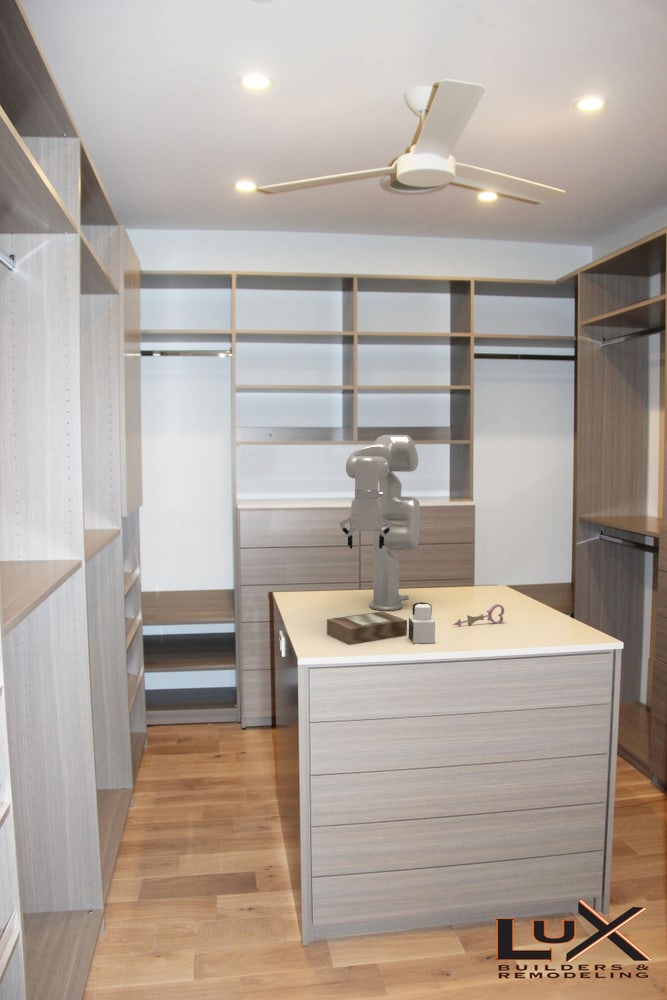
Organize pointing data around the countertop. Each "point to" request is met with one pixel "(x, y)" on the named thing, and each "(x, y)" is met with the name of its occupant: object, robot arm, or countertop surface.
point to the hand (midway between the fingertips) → (365, 548)
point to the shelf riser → (366, 627)
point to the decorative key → (481, 617)
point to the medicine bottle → (421, 624)
